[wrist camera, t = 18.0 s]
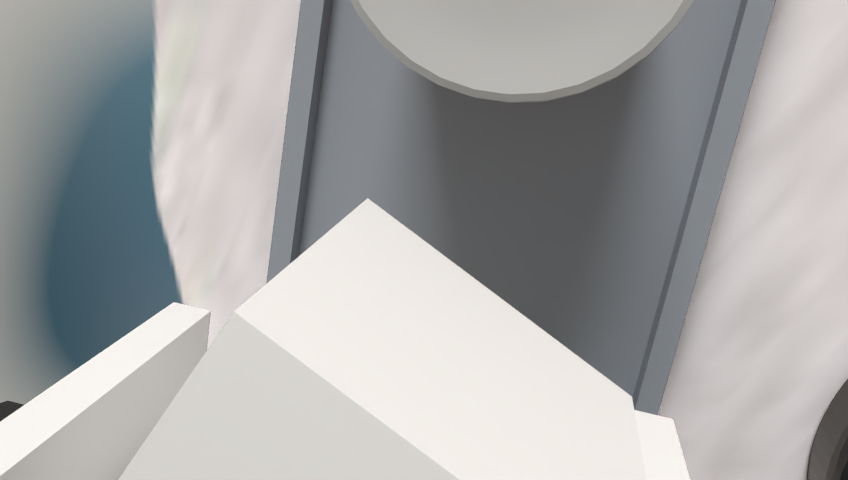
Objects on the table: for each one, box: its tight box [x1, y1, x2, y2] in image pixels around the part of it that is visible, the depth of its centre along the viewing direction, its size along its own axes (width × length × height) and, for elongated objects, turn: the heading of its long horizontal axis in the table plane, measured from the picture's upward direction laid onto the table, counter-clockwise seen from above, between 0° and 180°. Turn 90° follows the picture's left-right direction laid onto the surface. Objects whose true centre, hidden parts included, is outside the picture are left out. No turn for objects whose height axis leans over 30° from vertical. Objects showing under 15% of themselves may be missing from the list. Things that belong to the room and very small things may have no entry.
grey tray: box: [266, 0, 776, 415], centre depth 28 cm, size 21×15×4 cm
